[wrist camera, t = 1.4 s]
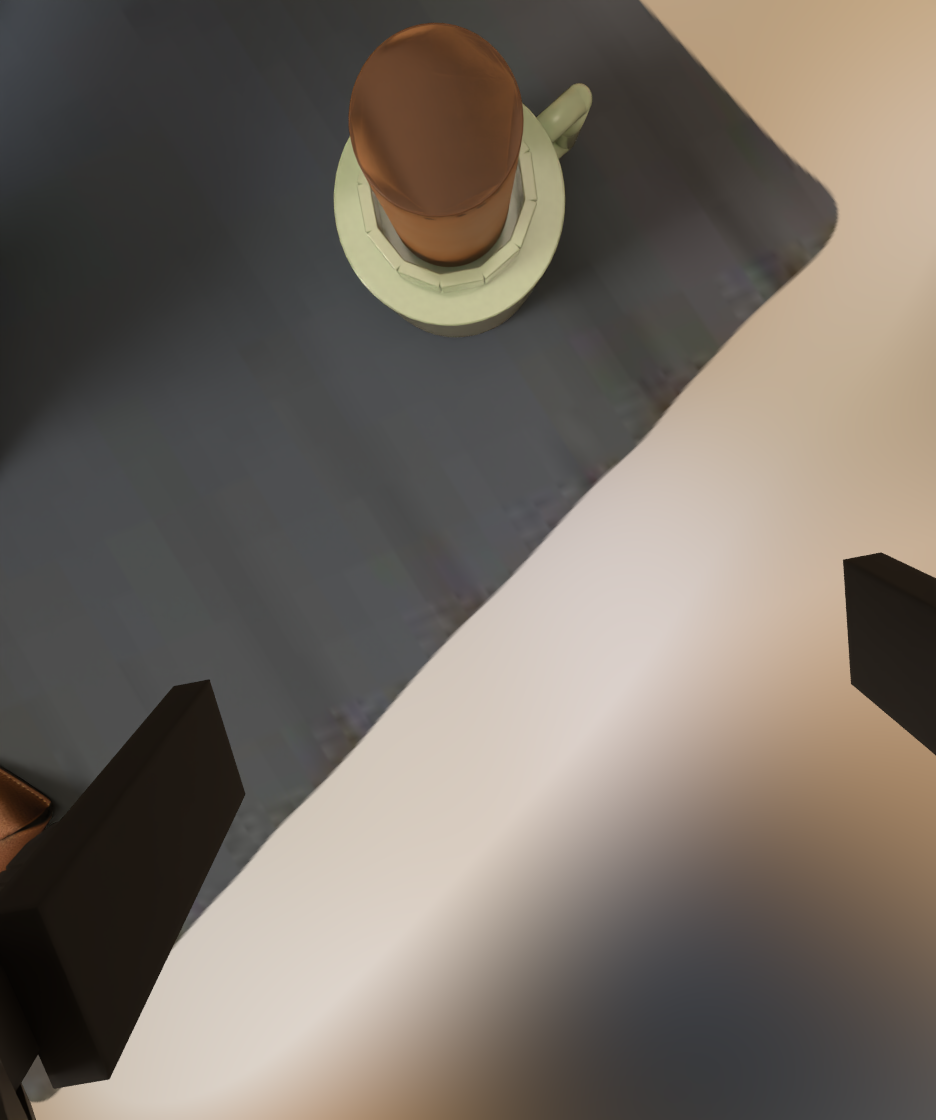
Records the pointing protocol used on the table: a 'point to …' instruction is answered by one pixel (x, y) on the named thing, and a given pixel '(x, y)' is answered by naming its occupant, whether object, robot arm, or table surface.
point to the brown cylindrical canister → (439, 139)
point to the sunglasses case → (19, 815)
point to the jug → (499, 275)
